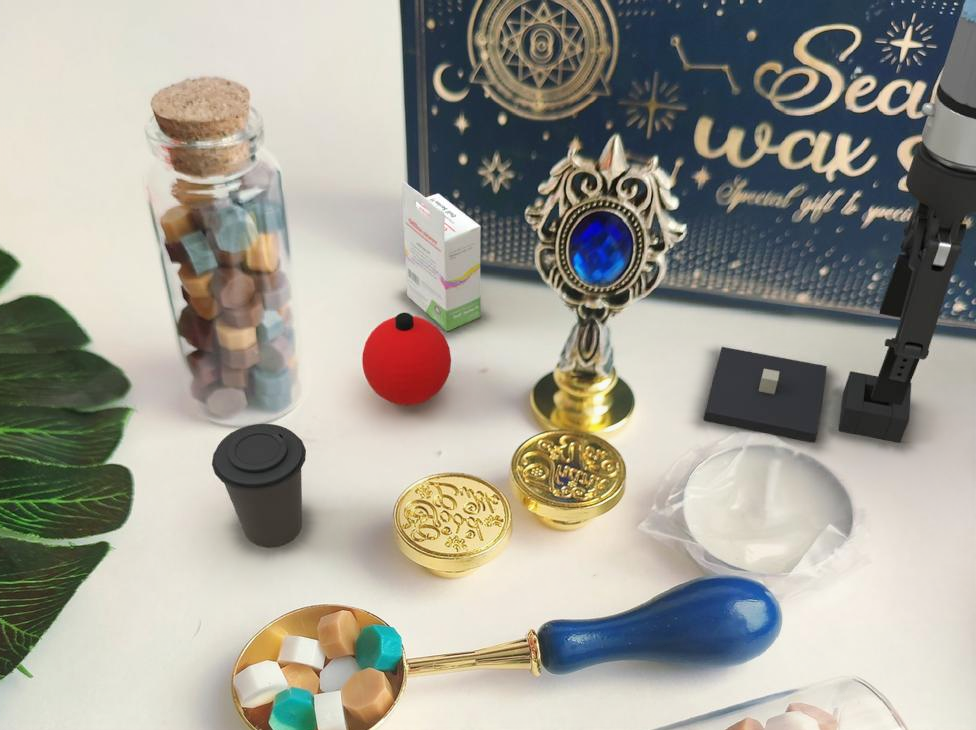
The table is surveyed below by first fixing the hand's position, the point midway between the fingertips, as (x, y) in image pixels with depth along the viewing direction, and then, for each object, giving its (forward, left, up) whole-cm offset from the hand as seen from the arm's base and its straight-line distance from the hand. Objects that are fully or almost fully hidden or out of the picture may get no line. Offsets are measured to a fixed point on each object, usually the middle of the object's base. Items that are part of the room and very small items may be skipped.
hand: (889, 355), depth 103 cm
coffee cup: (+59, -14, -8) cm, 61 cm away
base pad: (+7, -7, -8) cm, 13 cm away
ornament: (+40, -25, -8) cm, 48 cm away
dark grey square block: (0, 0, -8) cm, 8 cm away
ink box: (+30, -37, -8) cm, 48 cm away
